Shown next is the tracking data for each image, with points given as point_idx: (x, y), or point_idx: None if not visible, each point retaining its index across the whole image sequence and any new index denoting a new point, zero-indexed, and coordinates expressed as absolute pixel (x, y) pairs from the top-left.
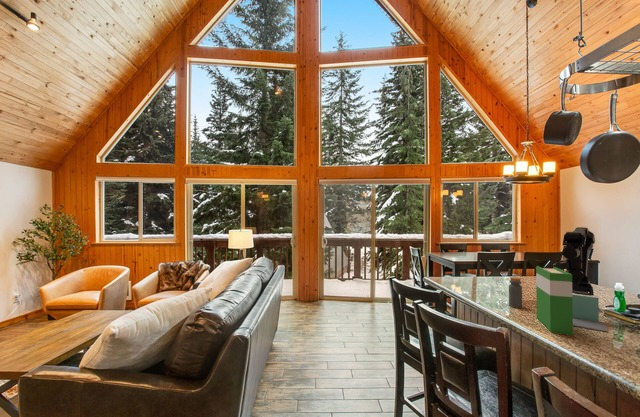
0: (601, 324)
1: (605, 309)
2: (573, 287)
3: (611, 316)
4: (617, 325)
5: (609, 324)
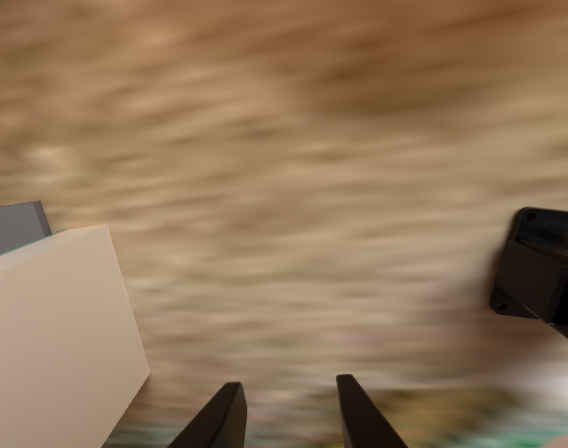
0: None
1: (533, 395)
2: (207, 410)
3: (337, 421)
4: (146, 440)
5: (130, 413)
